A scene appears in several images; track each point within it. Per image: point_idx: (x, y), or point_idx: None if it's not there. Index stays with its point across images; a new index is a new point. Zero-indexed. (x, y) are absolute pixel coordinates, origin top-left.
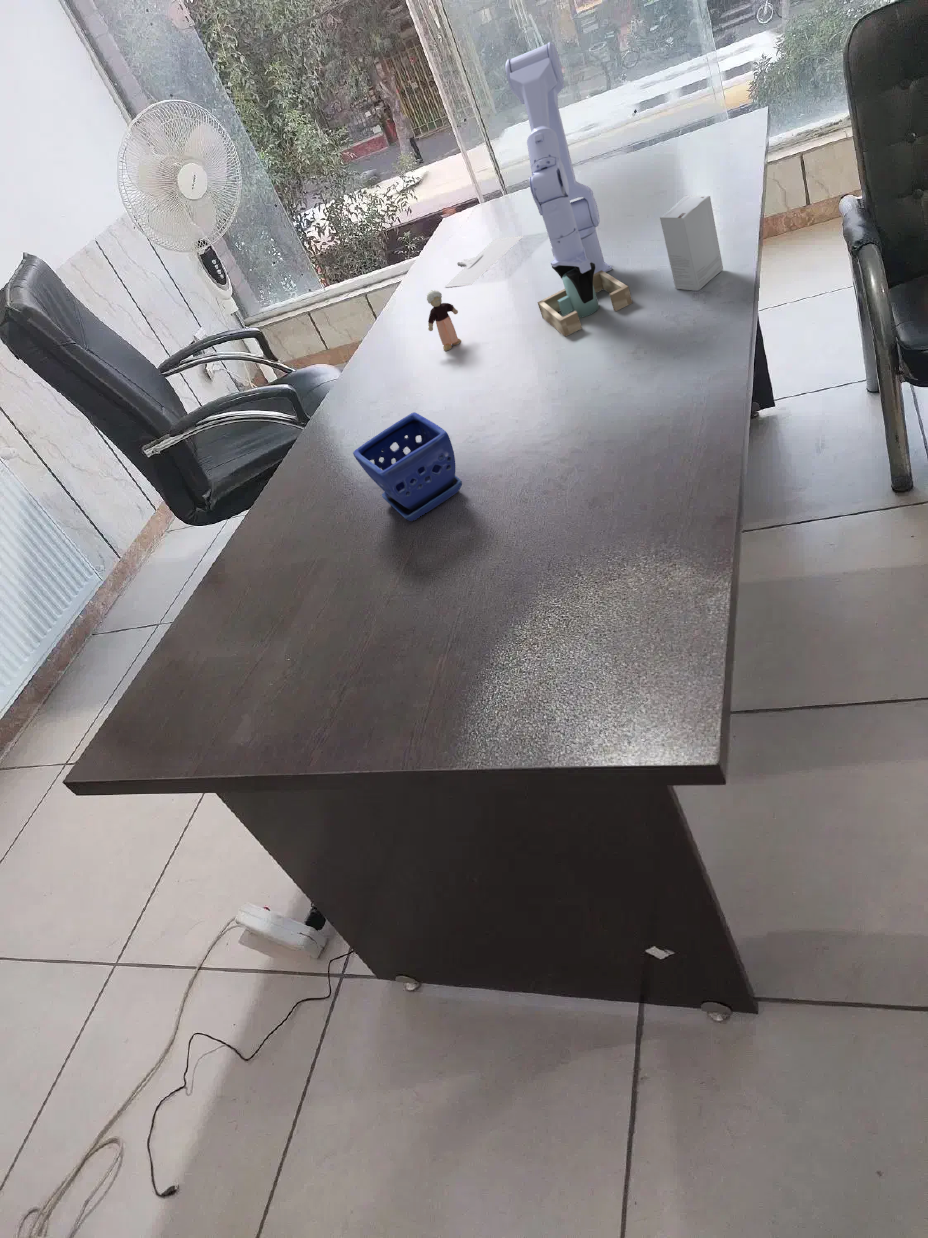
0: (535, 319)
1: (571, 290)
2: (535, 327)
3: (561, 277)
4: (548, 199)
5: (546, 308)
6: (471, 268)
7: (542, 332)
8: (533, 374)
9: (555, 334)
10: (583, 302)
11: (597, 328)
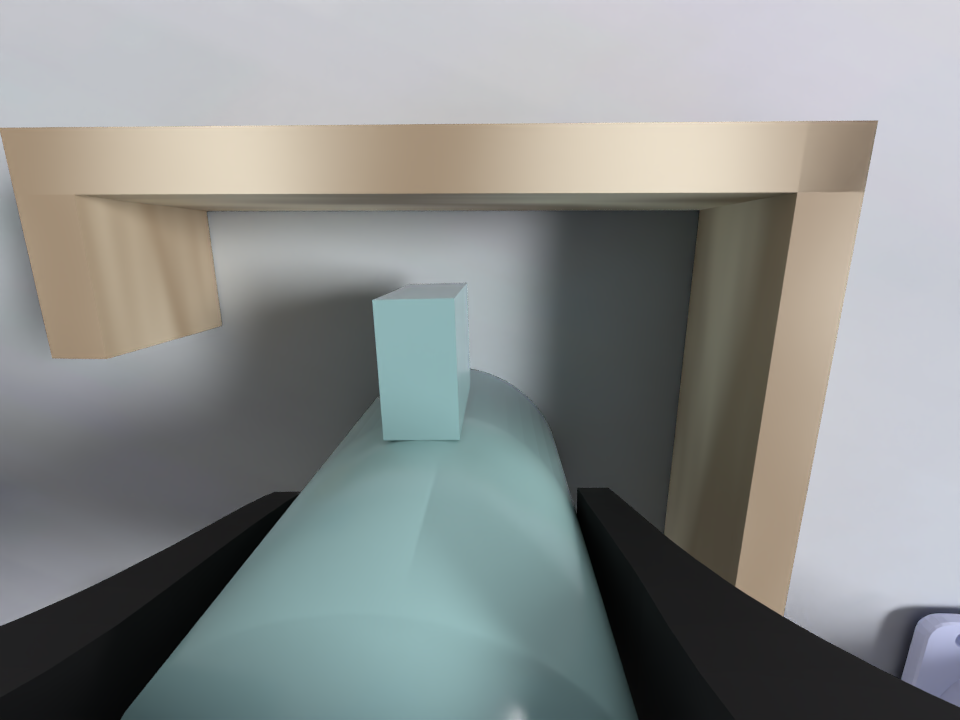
0: (797, 94)
1: (282, 520)
2: (628, 24)
3: (731, 624)
4: None
5: (534, 137)
6: None
7: (447, 38)
8: None
9: (285, 118)
10: (277, 492)
11: (78, 400)
